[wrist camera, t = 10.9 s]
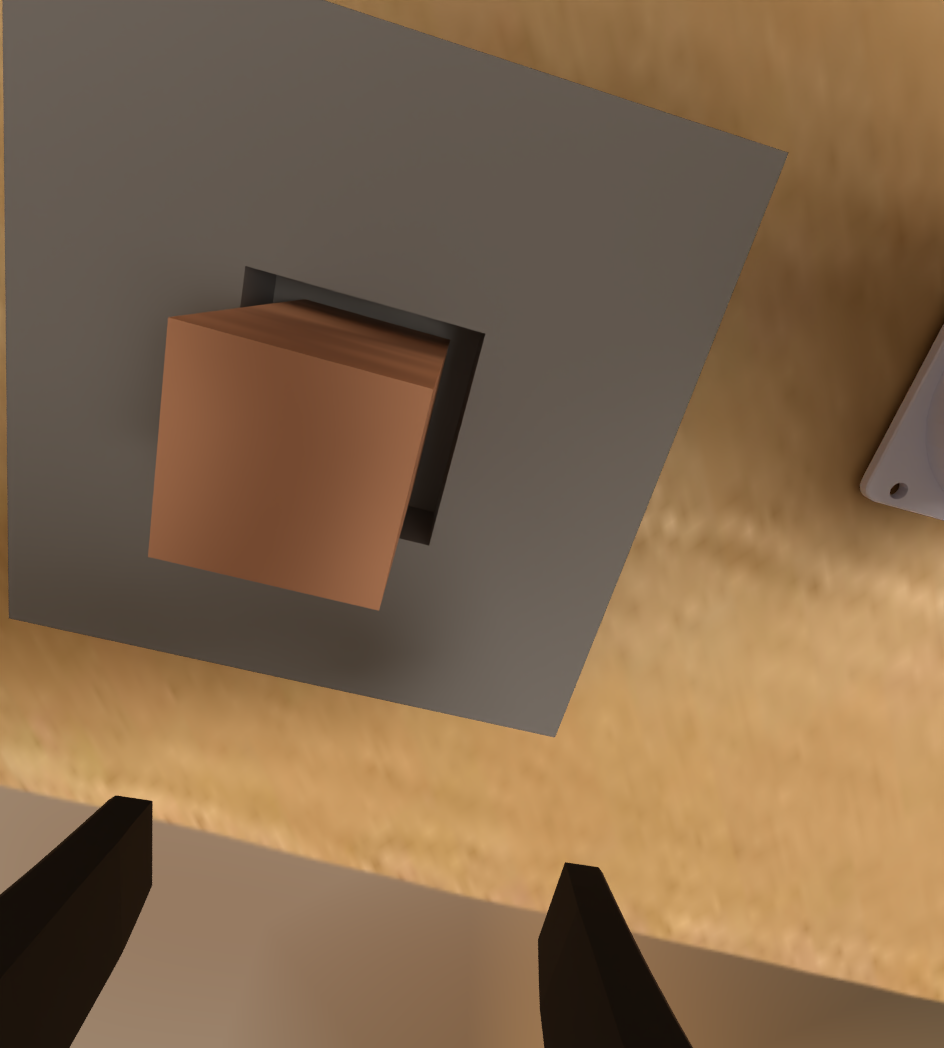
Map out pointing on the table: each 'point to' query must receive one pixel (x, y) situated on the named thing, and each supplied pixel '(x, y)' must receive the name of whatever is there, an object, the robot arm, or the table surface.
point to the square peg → (291, 445)
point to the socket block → (363, 288)
